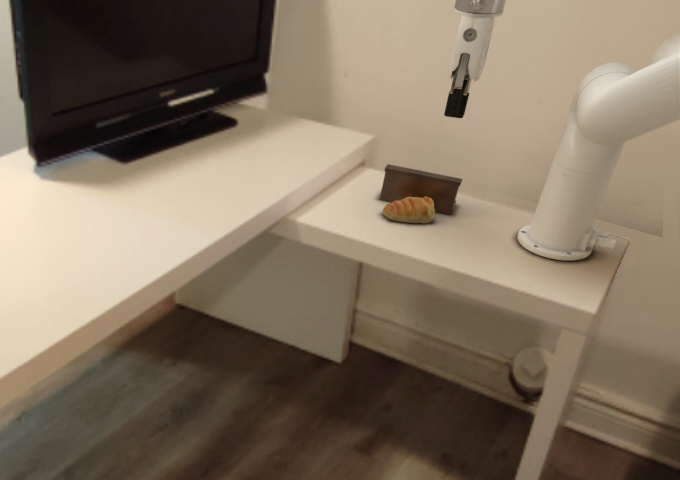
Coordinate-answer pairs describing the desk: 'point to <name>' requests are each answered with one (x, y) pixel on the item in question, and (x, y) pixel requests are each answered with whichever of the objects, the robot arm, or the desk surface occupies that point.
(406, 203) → the pastry
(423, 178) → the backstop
